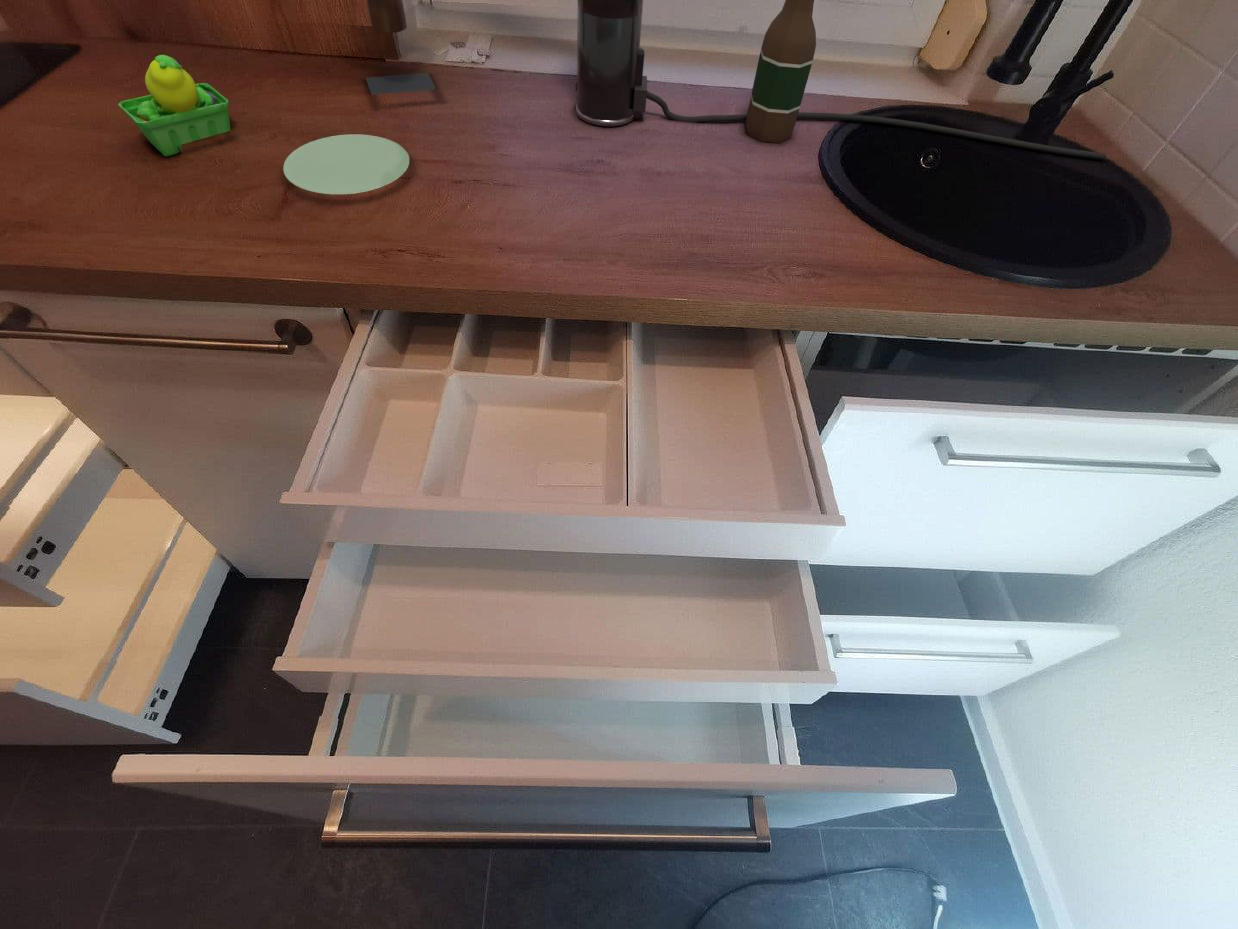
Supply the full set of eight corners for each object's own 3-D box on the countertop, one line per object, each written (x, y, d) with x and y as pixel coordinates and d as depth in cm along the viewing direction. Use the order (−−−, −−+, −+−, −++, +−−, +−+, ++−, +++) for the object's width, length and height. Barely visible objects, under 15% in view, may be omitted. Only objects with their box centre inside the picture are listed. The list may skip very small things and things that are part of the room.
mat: (428, 76, 103) (428, 72, 102) (441, 101, 97) (440, 97, 97) (366, 81, 100) (365, 77, 100) (375, 108, 95) (374, 104, 94)
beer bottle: (797, 128, 99) (851, -63, 80) (784, 148, 95) (838, -49, 76) (751, 116, 101) (793, -74, 82) (736, 135, 97) (777, -61, 77)
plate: (400, 136, 90) (398, 128, 89) (421, 193, 81) (419, 184, 80) (282, 150, 85) (278, 141, 84) (291, 210, 77) (287, 201, 76)
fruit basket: (221, 119, 90) (182, 28, 81) (249, 142, 86) (212, 50, 77) (137, 141, 84) (86, 47, 75) (163, 168, 81) (113, 72, 72)
